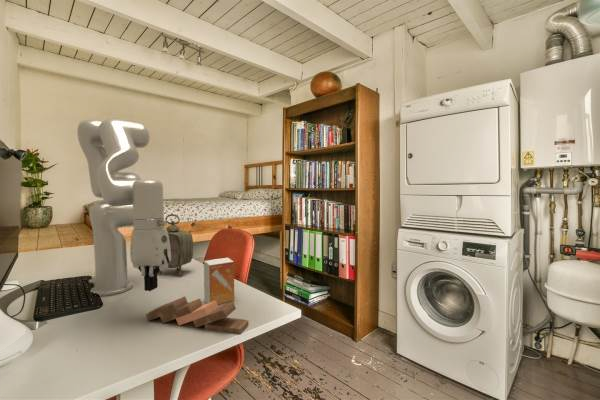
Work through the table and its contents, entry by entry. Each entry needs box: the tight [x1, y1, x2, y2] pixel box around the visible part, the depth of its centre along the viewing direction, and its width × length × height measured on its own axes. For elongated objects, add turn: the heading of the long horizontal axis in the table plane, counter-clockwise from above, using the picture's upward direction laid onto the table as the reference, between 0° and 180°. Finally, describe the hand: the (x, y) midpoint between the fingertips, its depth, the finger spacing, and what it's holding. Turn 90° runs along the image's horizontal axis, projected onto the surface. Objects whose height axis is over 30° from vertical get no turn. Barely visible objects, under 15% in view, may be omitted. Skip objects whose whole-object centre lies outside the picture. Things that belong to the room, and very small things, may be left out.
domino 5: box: [204, 316, 249, 335], centre depth 76 cm, size 2×5×10 cm
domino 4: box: [192, 301, 237, 329], centre depth 77 cm, size 2×5×10 cm
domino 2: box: [159, 298, 203, 324], centre depth 79 cm, size 2×5×10 cm
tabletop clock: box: [158, 213, 194, 277], centre depth 122 cm, size 14×9×25 cm, turn 73°
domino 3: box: [175, 300, 220, 326], centre depth 78 cm, size 2×5×10 cm
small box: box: [203, 257, 235, 305], centre depth 93 cm, size 8×6×13 cm
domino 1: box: [145, 296, 189, 322], centre depth 81 cm, size 2×5×10 cm
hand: (151, 289), depth 82 cm, fingers closed
